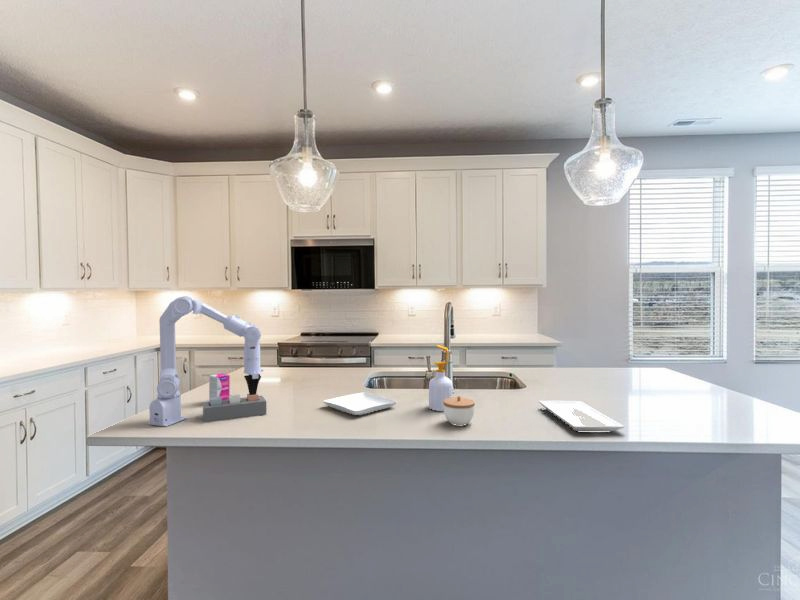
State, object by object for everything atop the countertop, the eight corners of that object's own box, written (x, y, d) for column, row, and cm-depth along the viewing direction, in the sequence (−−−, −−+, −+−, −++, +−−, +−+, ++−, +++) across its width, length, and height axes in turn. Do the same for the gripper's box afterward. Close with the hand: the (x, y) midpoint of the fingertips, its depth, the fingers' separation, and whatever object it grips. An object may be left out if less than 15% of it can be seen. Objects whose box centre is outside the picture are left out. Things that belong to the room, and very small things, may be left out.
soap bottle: (430, 404, 174) (430, 343, 173) (453, 405, 172) (453, 344, 171) (427, 410, 165) (427, 346, 164) (451, 412, 163) (451, 347, 162)
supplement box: (216, 405, 172) (216, 377, 172) (208, 403, 176) (208, 375, 175) (230, 402, 177) (229, 374, 176) (222, 400, 180) (221, 372, 180)
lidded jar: (441, 418, 155) (441, 392, 155) (470, 418, 156) (470, 392, 156) (445, 428, 144) (446, 400, 144) (477, 428, 145) (477, 400, 145)
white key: (229, 408, 157) (229, 397, 157) (228, 406, 160) (228, 395, 160) (240, 407, 159) (240, 396, 159) (239, 405, 162) (239, 394, 162)
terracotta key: (248, 406, 160) (248, 396, 160) (247, 404, 163) (246, 393, 163) (258, 405, 162) (258, 394, 161) (257, 403, 165) (256, 392, 165)
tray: (579, 408, 170) (580, 399, 169) (625, 436, 138) (625, 425, 138) (537, 409, 169) (537, 400, 169) (573, 437, 137) (573, 426, 137)
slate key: (210, 411, 154) (210, 400, 154) (210, 408, 157) (209, 397, 157) (221, 409, 156) (221, 398, 156) (220, 407, 159) (220, 396, 159)
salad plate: (363, 398, 184) (363, 390, 184) (398, 409, 169) (398, 400, 169) (321, 408, 169) (321, 399, 169) (355, 420, 154) (355, 411, 154)
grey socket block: (204, 422, 151) (203, 408, 151) (202, 415, 159) (202, 402, 159) (266, 414, 160) (266, 401, 160) (262, 408, 168) (262, 395, 168)
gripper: (266, 360, 157) (267, 397, 158) (260, 354, 170) (260, 389, 171) (246, 362, 154) (246, 400, 154) (241, 356, 167) (241, 391, 167)
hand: (252, 394), depth 162 cm, fingers closed, pressing on terracotta key
